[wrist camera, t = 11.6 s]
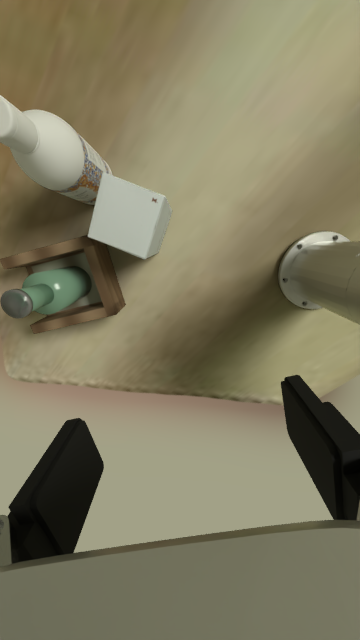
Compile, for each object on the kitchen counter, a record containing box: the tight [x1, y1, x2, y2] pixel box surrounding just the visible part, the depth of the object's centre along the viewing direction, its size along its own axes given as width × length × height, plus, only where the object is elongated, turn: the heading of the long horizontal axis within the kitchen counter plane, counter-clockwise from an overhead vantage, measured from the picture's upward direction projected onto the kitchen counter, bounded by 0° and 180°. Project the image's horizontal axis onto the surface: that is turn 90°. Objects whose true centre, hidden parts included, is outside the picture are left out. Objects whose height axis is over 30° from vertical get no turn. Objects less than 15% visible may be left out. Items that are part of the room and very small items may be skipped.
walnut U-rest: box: [0, 235, 126, 334], centre depth 39 cm, size 14×12×6 cm
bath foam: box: [0, 96, 112, 205], centre depth 27 cm, size 7×7×20 cm
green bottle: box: [1, 266, 92, 318], centre depth 33 cm, size 6×6×15 cm
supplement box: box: [88, 172, 172, 260], centre depth 33 cm, size 7×7×13 cm
